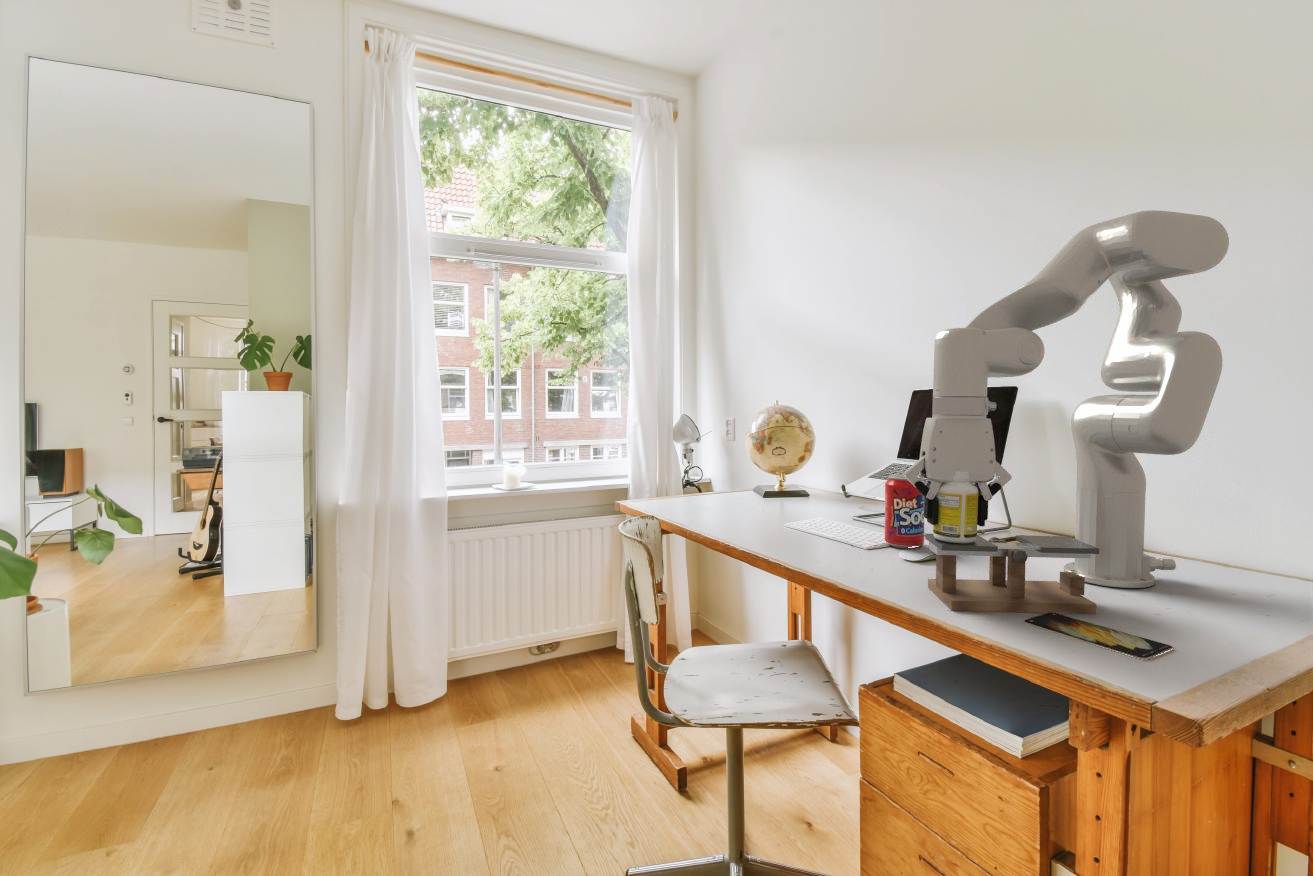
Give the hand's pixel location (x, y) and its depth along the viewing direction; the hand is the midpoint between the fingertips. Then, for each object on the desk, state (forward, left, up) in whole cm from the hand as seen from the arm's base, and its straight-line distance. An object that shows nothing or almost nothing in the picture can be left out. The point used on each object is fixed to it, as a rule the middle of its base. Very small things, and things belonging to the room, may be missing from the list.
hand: (955, 523), depth 95 cm
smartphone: (-13, +13, -13) cm, 23 cm away
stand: (-8, 0, -12) cm, 14 cm away
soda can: (-2, -35, -12) cm, 37 cm away
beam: (-8, 0, -4) cm, 9 cm away
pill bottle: (0, 0, -3) cm, 3 cm away
